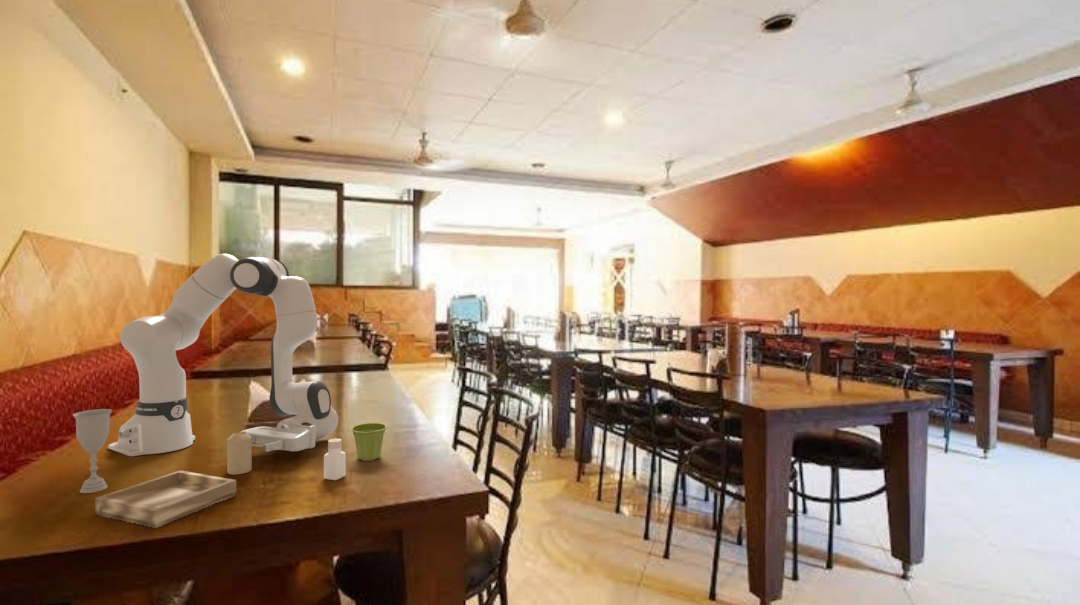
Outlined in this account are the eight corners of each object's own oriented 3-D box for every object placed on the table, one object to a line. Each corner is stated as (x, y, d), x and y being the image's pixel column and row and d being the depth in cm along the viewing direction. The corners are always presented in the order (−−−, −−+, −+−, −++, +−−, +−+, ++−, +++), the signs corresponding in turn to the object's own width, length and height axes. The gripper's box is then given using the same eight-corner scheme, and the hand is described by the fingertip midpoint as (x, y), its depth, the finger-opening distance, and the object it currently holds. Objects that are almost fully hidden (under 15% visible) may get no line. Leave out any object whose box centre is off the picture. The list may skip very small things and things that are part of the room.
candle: (240, 475, 132) (240, 436, 132) (222, 474, 134) (221, 435, 133) (256, 468, 138) (256, 430, 138) (238, 466, 139) (238, 429, 139)
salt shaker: (335, 481, 129) (335, 443, 129) (322, 479, 130) (322, 441, 130) (346, 476, 133) (346, 438, 133) (334, 474, 134) (334, 437, 134)
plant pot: (386, 461, 144) (386, 430, 144) (350, 464, 142) (350, 432, 141) (386, 451, 153) (386, 422, 153) (352, 454, 151) (352, 424, 150)
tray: (95, 514, 109) (95, 498, 109) (180, 484, 126) (180, 470, 126) (155, 528, 103) (155, 511, 103) (236, 495, 120) (236, 480, 120)
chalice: (93, 482, 127) (92, 408, 126) (121, 483, 126) (120, 409, 126) (65, 494, 119) (64, 416, 119) (94, 495, 119) (93, 416, 119)
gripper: (263, 418, 155) (221, 430, 142) (319, 425, 148) (280, 438, 135) (263, 440, 155) (221, 453, 142) (319, 447, 149) (280, 462, 136)
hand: (250, 446), depth 139 cm, fingers open, 8 cm apart
